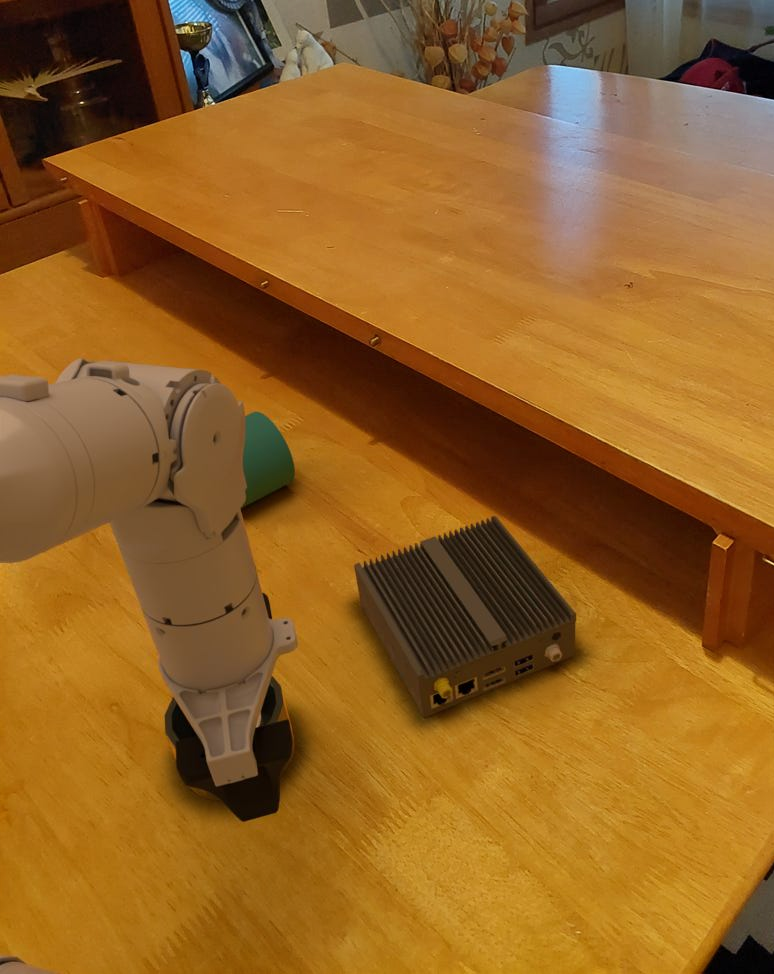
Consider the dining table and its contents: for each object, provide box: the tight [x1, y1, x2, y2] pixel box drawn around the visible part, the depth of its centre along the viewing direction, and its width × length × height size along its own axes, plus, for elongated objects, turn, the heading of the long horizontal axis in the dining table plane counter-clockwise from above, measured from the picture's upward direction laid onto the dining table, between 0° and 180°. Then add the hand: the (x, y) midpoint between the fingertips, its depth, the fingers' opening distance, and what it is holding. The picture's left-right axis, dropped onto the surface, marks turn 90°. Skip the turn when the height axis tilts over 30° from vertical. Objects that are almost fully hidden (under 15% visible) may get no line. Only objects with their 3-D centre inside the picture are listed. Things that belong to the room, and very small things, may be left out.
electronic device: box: [353, 515, 577, 719], centre depth 74 cm, size 13×15×5 cm
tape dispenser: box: [240, 411, 296, 510], centre depth 92 cm, size 7×15×8 cm, turn 43°
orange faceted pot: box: [164, 675, 296, 803], centre depth 65 cm, size 8×8×5 cm
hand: (252, 756), depth 54 cm, fingers open, 7 cm apart
